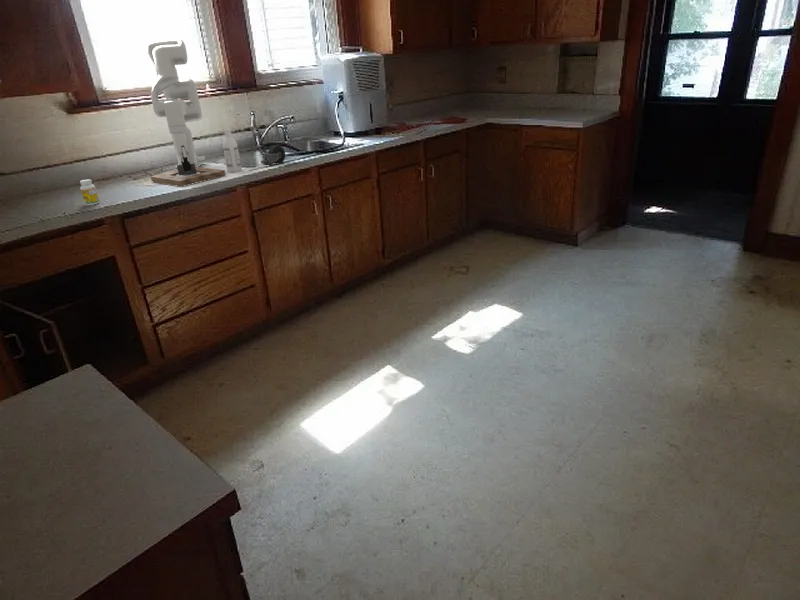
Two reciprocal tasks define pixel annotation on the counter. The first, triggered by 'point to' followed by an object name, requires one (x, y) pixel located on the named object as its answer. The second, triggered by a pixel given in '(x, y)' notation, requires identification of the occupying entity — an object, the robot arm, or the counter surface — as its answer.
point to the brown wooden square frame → (181, 181)
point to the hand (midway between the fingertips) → (187, 169)
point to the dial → (187, 173)
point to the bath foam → (231, 152)
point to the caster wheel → (274, 155)
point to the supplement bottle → (89, 192)
